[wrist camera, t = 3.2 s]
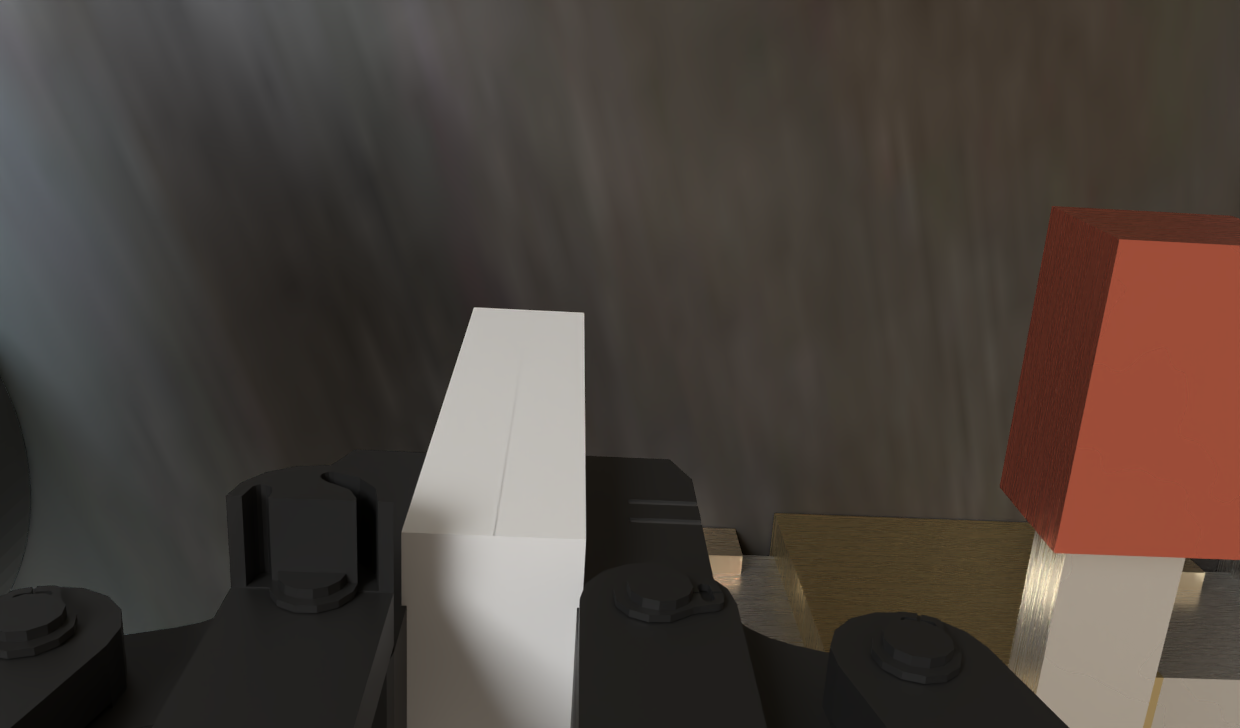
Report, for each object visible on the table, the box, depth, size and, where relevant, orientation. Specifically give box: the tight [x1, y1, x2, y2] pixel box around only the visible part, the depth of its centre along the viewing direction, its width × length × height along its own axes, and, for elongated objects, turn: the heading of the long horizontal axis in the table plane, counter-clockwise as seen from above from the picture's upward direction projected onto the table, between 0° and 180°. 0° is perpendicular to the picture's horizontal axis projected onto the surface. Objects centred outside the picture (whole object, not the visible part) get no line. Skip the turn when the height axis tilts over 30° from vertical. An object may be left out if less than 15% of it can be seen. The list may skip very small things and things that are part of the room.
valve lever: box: [1000, 206, 1240, 728], centre depth 20 cm, size 15×3×2 cm, turn 176°
